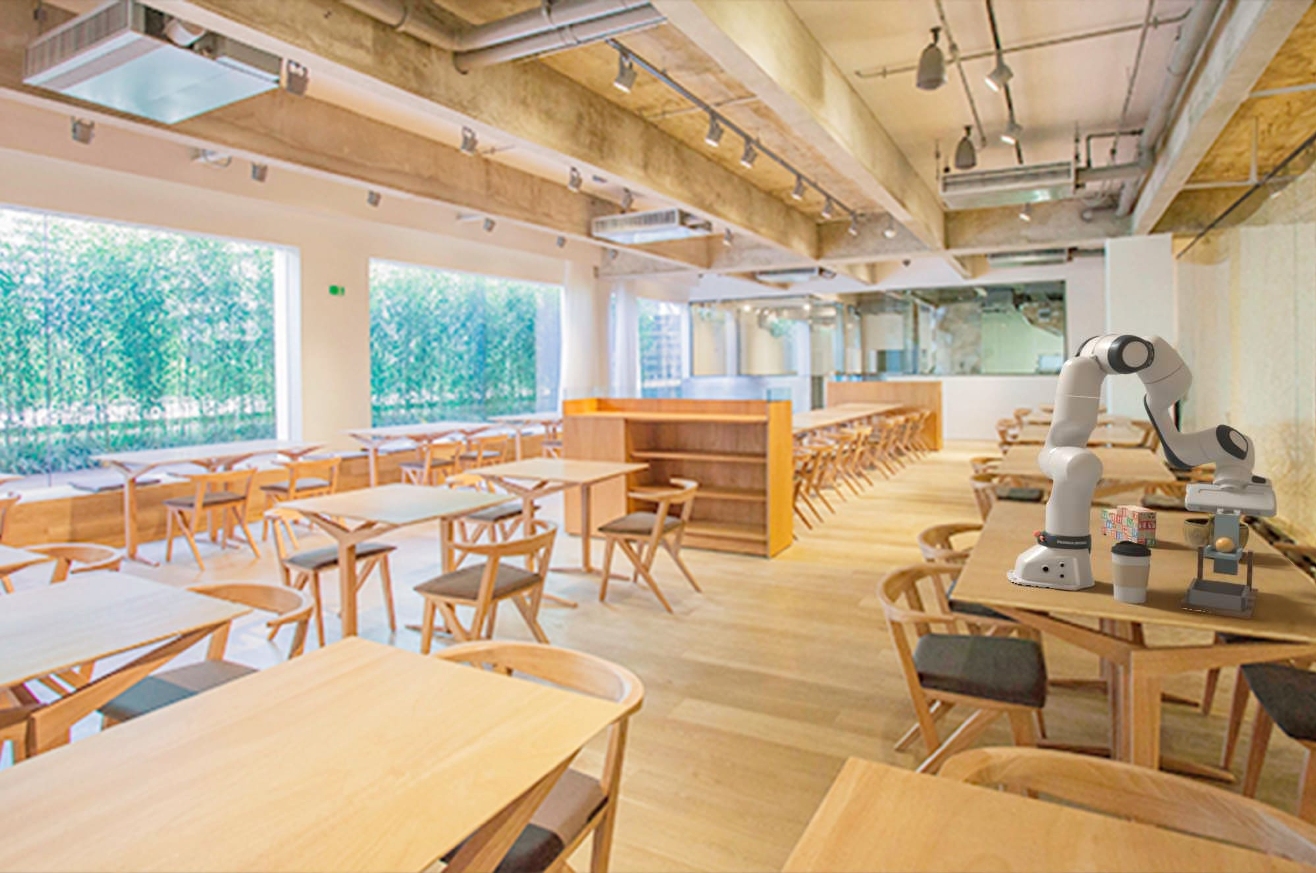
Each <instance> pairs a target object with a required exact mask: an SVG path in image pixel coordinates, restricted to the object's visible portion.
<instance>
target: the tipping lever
mask: <svg viewBox="0 0 1316 873" xmlns="http://www.w3.org/2000/svg"><path fill="white" fill-rule="evenodd" d="M1240 518H1241V517H1240V516H1239V515H1234V514H1215V527H1214V547H1213V549H1212V545H1208V546H1207V547H1205V548H1204V558H1212V559H1213V570H1212V572H1213V574H1221V575H1229V576H1237V575H1238V574H1239V561H1240V559H1242V557H1245V558H1247V552H1246V551H1244V549H1243V548H1239V549H1238V542H1239V522H1241V521H1240ZM1220 538H1228V539H1230V540H1232V541H1233V543H1234V549H1233V550H1232V551H1231V552H1229V553H1223V552H1220V551H1219V550H1218V549H1217V548H1216V542H1217V540H1218V539H1220Z"/></svg>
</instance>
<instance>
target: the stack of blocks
mask: <svg viewBox="0 0 1316 873" xmlns="http://www.w3.org/2000/svg"><path fill="white" fill-rule="evenodd" d="M1157 513H1158V512H1157V511H1155V510H1151V509H1150V508H1147V507H1142V506H1139V505H1135V504H1130V505H1129V504H1128V505H1126V504H1125V505H1116V508H1110V509H1106V508H1104V509H1101V534H1102V533H1104V534H1106V535H1109V536H1111V537H1114V538H1116V539H1115V540H1117V539H1120V540H1121V541H1132V542H1134V543H1139V544H1144V545H1146V546H1155V547H1156V529H1157ZM1106 535H1105V536H1106ZM1111 537H1110V538H1111ZM1114 538H1113V539H1114ZM1121 541H1120V542H1121Z"/></svg>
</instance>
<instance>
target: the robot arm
mask: <svg viewBox="0 0 1316 873" xmlns="http://www.w3.org/2000/svg"><path fill="white" fill-rule="evenodd" d="M1134 373H1135V374H1137V376H1138V378H1139V379H1140V381H1141V382H1142V384H1143V385H1144V387H1145V390H1146V393H1145V394H1144V396H1143V405H1144V408H1145V411H1146V414H1147V415H1148V416H1147V417H1148V419H1149V420H1150V423H1151V424H1152V427H1153V429H1154V431H1155V432H1156V435H1157V437H1158V439H1159V441H1160V444H1161V446H1162V450H1163V454H1164V456H1165V458H1166V460H1167V463H1169V464H1170V465H1171V466H1173V467H1175V468H1177V469H1179V470H1182V471H1187V470H1190V469H1193V468H1196V467H1197V468H1198V467H1199V466H1202V465H1207V464H1211V463H1215V467H1216V468H1215V469H1214V471H1213V478H1212V479H1213V480H1212V482H1208V481H1207V482H1205V481H1202V482H1201V481H1193V482H1190V483H1187V484H1186V486H1185V493H1186V495H1185V498H1184V507H1185V508H1186V510H1188V512H1189V511H1192V512H1201V513H1217V514H1227V515H1239V516H1240V518H1241V516H1247V517H1249V516H1250V517H1260V518H1261V517H1262V518H1271V519H1272V518H1274V517H1276V516H1277V514H1278V513H1277V512H1278V511H1277V509H1278V507H1277V506H1278V504H1277V503H1278V502H1277V496H1276V492H1275V490H1274V489H1273V483H1272V481H1273V480H1272V479H1270V478H1266V477H1264V476H1261V475H1260V476H1259V475H1256V474H1254V473H1253V470H1254V467H1255V462H1256V452H1255V451H1256V450H1255V446H1254V442H1253V440H1252V439H1251V437H1249V436H1248V435H1246V434H1244V433H1242V432H1240V431H1238V430H1237V429H1236V428H1234V427H1231V426H1229V425H1227V424H1224V423H1223V424H1218V425H1217V424H1216V425H1213V426H1209V427H1206V428H1202V429H1198V430H1195V431H1192V432H1188V433H1183V432H1180V431H1178V428H1177V426H1176V424H1175V422H1174V421H1173V417H1172V416H1171V414H1170V412H1169V409H1170V408H1171V407H1172V406H1173V405H1175V404H1176V403H1177V402H1178V401H1180V400H1181V399H1182V398H1183V397H1184V396H1185V395H1186V394H1187V393H1188V392H1189V390H1190V388H1191V387H1192V384H1193V374H1192V371H1191V369H1190V367H1189V365H1187V363H1186V362H1185V360H1183V358H1182V357H1181V356H1180V354H1179V353H1178V352H1177V351H1176V350H1175V349H1174V347H1173V346H1171V344H1169V343H1168V342H1167V341H1166V340H1165V339H1164V338H1162V337H1161V336H1159V335H1156V334H1149V335H1145V336H1141V337H1140V336H1137V335H1133V334H1116V333H1114V334H1113V333H1112V334H1104V335H1096V336H1091V337H1090V338H1088V339H1086V340H1085V341H1084V342H1082V344H1081V345H1080V347H1078V350H1077V352H1076V354H1075V355H1074V356H1073V357H1071V358H1069V359H1067V360H1065V361H1064V363H1063V365H1062V366H1061V370H1060V372H1059V376H1058V380H1057V384H1056V388H1055V396H1054V403H1053V409H1052V417H1051V418H1052V419H1051V423H1050V428H1049V430H1048V433H1047V436H1046V439H1045V442H1044V445H1043V449H1042V450H1041V451H1040V452H1039V454H1038V457H1037V465H1038V468H1039V470H1040V471H1041V472H1042V474H1044V475H1045V476H1046V477H1047V478H1048V479H1050V480H1052V481H1053V483H1052V488H1051V492H1050V496H1049V499H1048V501H1047V502H1046V504H1045V527H1044V528H1045V530H1044V531H1040V530H1038V529H1037V530H1034V532H1033V536H1034V537H1035V538H1036V542H1037V544H1035V545H1033V546H1031V547H1029V548H1028V549H1026V550H1025V551H1023V552H1022V553H1020V554H1019V555H1017V556H1018V557H1017V558H1016V561H1015V566H1014V569H1010V570H1008V571H1007V572H1006V578H1008V579H1009V580H1011V581H1010V582H1011V583H1012V582H1014V583H1013V584H1015V583H1017V584H1016V585H1018V584H1022V585H1021V586H1026V585H1031V586H1030V587H1036V586H1038V588H1046V587H1049V589H1058V590H1065V591H1067V590H1068V591H1079V590H1081V589H1085V588H1091V587H1093V586H1095V585H1096V582H1095V580H1094V577H1093V572H1092V571H1093V570H1092V565H1091V563H1092V562H1091V551H1092V544H1093V542H1092V535H1091V533H1090V530H1091V529H1090V526H1091V523H1090V522H1091V506H1092V501H1093V497H1094V493H1095V491H1096V486H1097V483H1099V481H1100V480H1101V479H1102V476H1103V474H1104V465H1103V462H1102V460H1101V459H1100V458H1099V457H1098V456H1097V455H1096V454H1095V453H1094V452H1093V451H1091V450H1089V449H1087V444H1088V442H1089V439H1090V437H1091V435H1092V433H1093V432H1094V430H1095V429H1096V428H1097V425H1098V416H1099V410H1100V401H1101V394H1102V384H1103V382H1104V380H1105V378H1106V377H1107V376H1108V375H1110V376H1111V375H1113V376H1115V375H1131V374H1134ZM1008 579H1007V580H1008ZM1009 580H1008V581H1009Z"/></svg>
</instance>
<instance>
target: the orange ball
mask: <svg viewBox="0 0 1316 873" xmlns="http://www.w3.org/2000/svg"><path fill="white" fill-rule="evenodd" d="M1216 548H1217V549H1218V550H1219V551H1220V552H1223V553H1229V552H1231V551H1232V550H1233V549H1234V543H1233V541H1232V540H1230V539H1228V538H1220V539H1218V540H1217V542H1216Z"/></svg>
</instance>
